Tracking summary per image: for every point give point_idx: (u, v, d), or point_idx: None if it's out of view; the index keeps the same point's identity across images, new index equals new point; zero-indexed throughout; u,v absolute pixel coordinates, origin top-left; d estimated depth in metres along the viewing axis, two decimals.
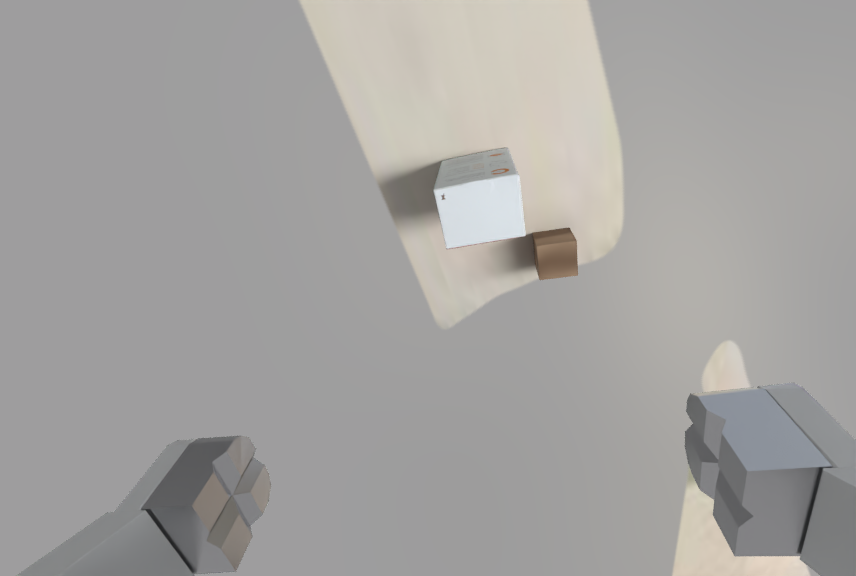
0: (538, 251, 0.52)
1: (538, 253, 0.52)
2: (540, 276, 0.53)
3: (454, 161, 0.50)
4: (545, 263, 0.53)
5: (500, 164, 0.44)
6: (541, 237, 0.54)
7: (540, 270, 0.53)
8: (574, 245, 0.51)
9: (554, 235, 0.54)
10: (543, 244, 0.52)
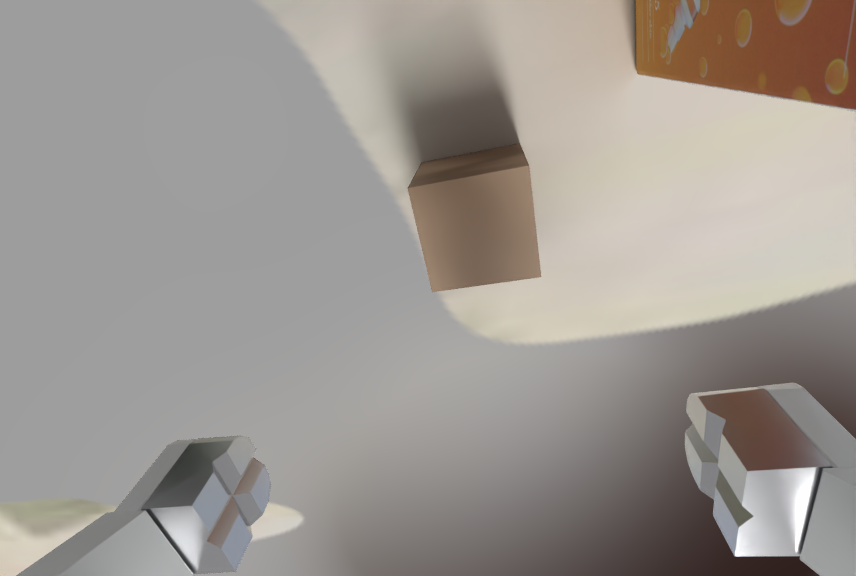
0: (509, 172, 0.16)
1: (502, 173, 0.16)
2: (420, 189, 0.17)
3: None
4: (466, 201, 0.17)
5: None
6: None
7: (441, 186, 0.16)
8: (526, 273, 0.18)
9: None
10: (530, 186, 0.16)
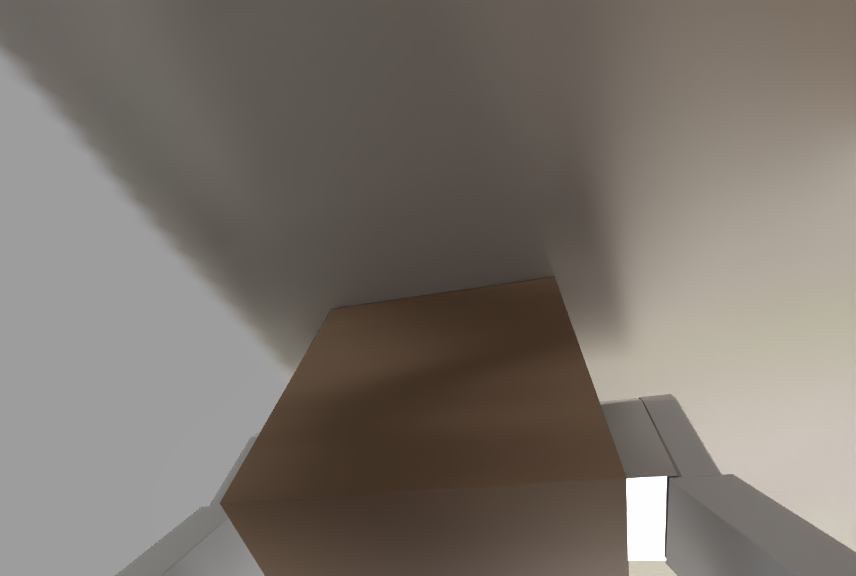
0: (554, 492, 0.04)
1: (527, 490, 0.05)
2: (260, 508, 0.05)
3: None
4: (408, 544, 0.05)
5: None
6: None
7: (326, 507, 0.05)
8: None
9: None
10: (622, 512, 0.05)
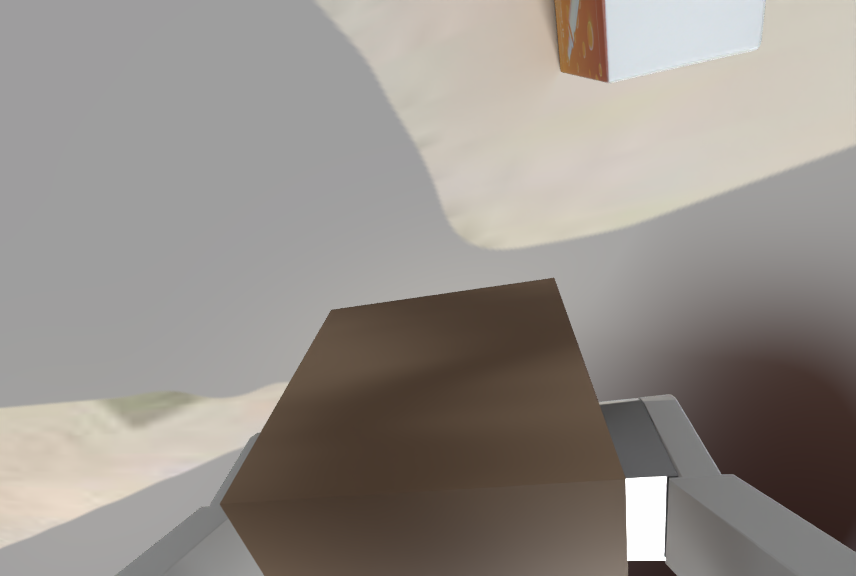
0: (554, 493, 0.04)
1: (527, 491, 0.05)
2: (260, 508, 0.05)
3: None
4: (408, 544, 0.05)
5: None
6: None
7: (326, 508, 0.05)
8: None
9: None
10: (620, 513, 0.05)
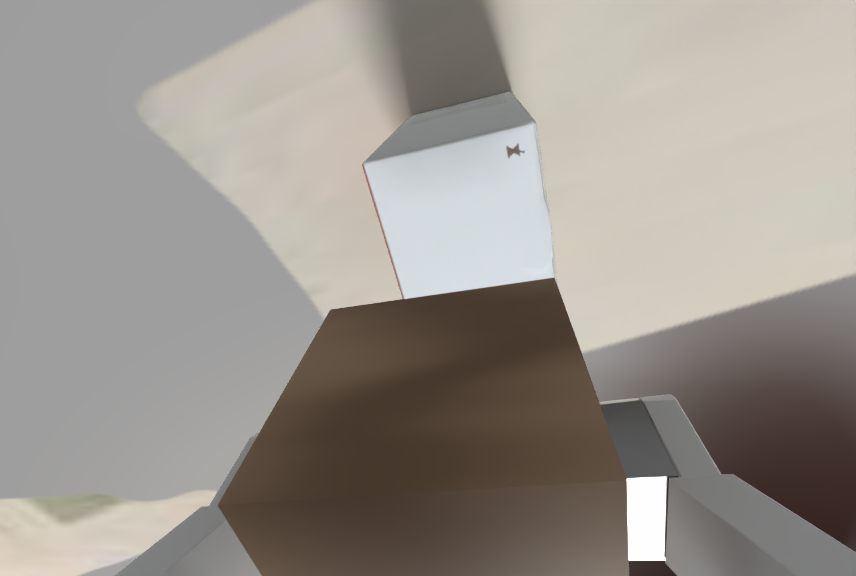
0: (554, 494, 0.04)
1: (527, 492, 0.05)
2: (258, 510, 0.05)
3: None
4: (408, 546, 0.05)
5: None
6: None
7: (325, 510, 0.05)
8: None
9: None
10: (621, 514, 0.05)
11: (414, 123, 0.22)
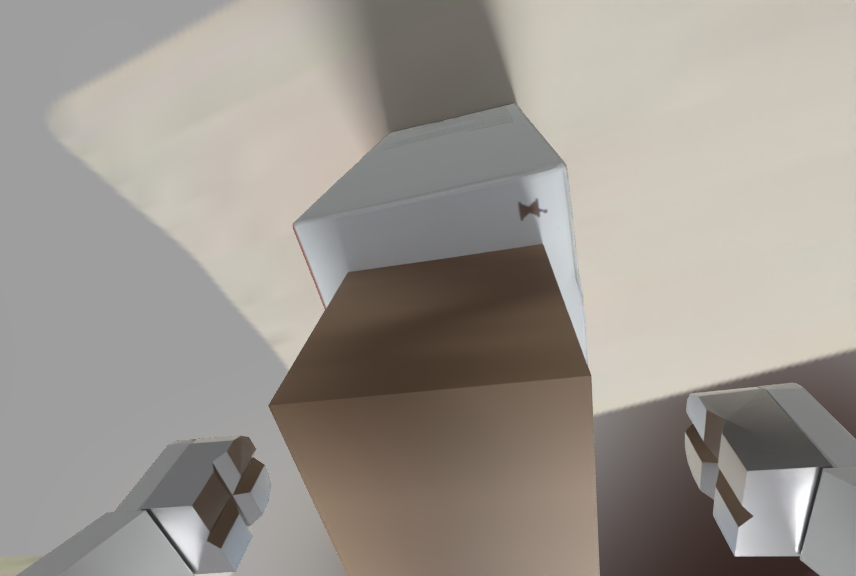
0: (536, 389, 0.06)
1: (515, 388, 0.06)
2: (301, 409, 0.06)
3: None
4: (420, 439, 0.06)
5: None
6: None
7: (355, 407, 0.06)
8: (566, 575, 0.08)
9: None
10: (589, 412, 0.06)
11: (388, 147, 0.16)
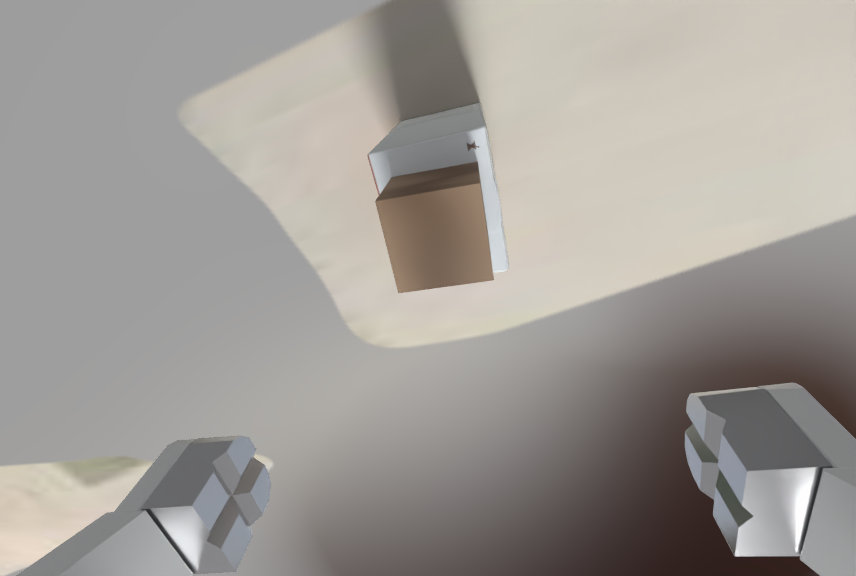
0: (463, 189, 0.18)
1: (457, 189, 0.18)
2: (386, 202, 0.19)
3: None
4: (426, 213, 0.19)
5: None
6: None
7: (405, 200, 0.19)
8: (480, 276, 0.20)
9: None
10: (482, 201, 0.19)
11: (403, 127, 0.29)
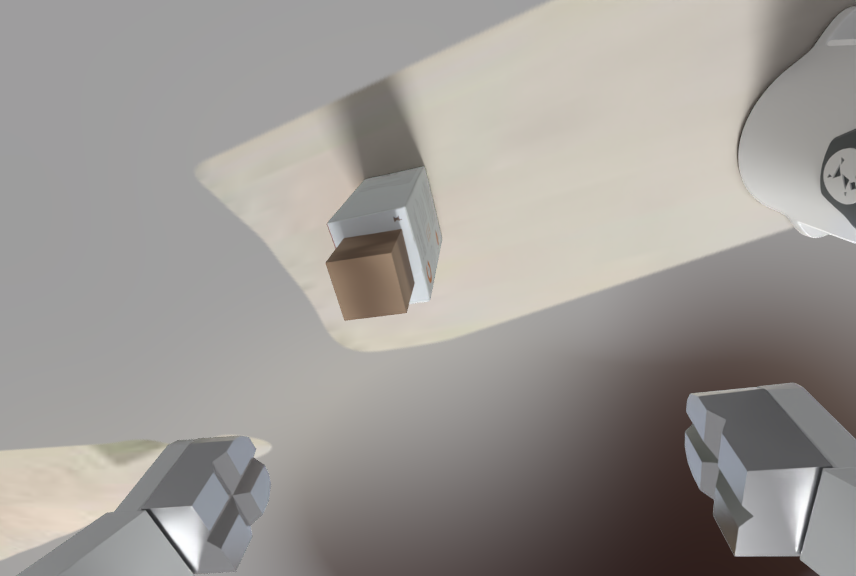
0: (381, 256, 0.28)
1: (377, 256, 0.28)
2: (332, 263, 0.29)
3: (426, 188, 0.41)
4: (358, 270, 0.29)
5: (432, 260, 0.38)
6: (400, 250, 0.31)
7: (344, 262, 0.29)
8: (397, 310, 0.30)
9: (405, 269, 0.31)
10: (394, 263, 0.29)
11: (361, 191, 0.39)
